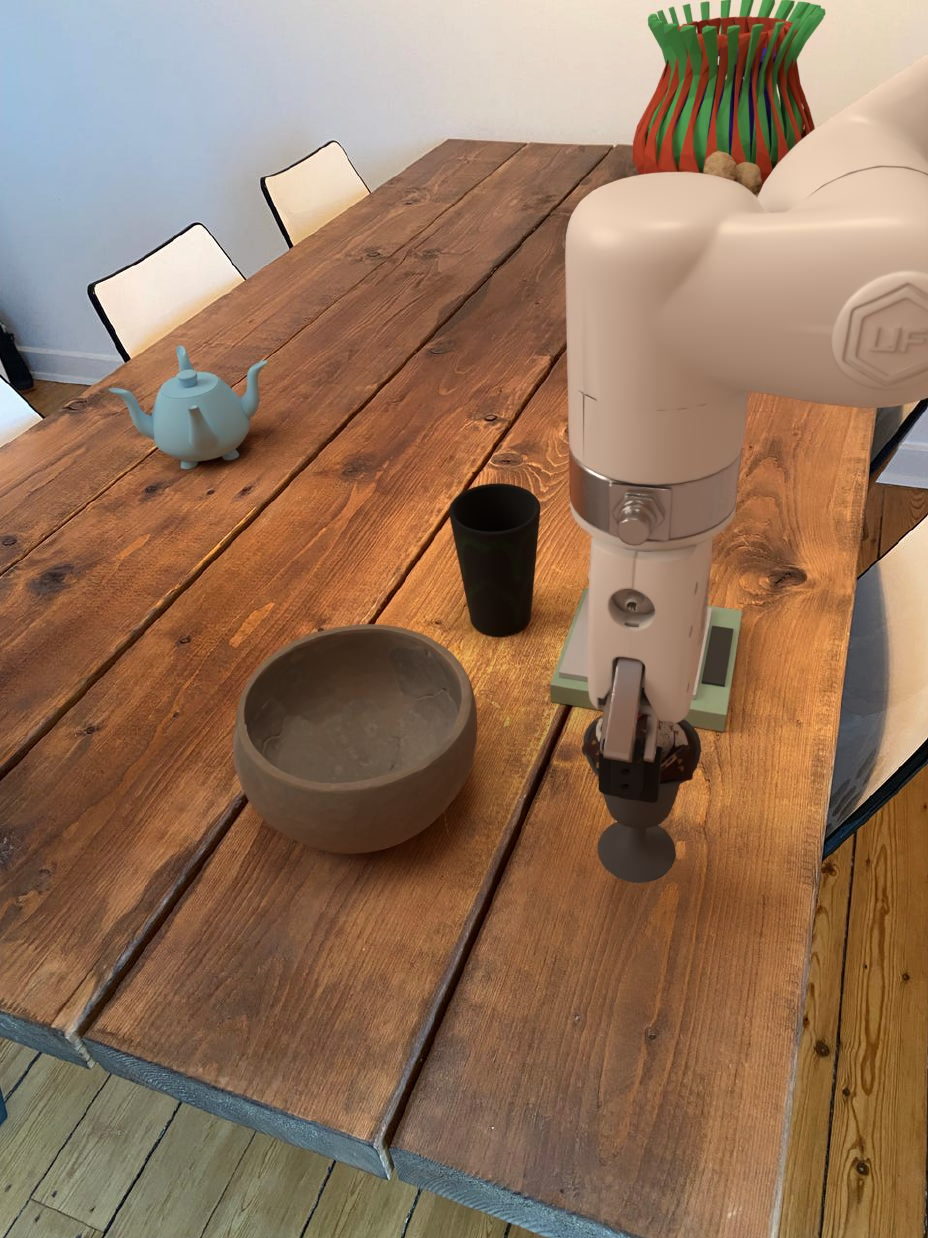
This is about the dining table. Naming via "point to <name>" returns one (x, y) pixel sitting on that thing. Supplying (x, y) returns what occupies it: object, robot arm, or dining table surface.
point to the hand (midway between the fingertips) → (640, 743)
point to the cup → (497, 554)
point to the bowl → (355, 737)
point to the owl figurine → (734, 171)
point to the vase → (727, 88)
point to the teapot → (197, 414)
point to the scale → (710, 678)
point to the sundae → (645, 804)
